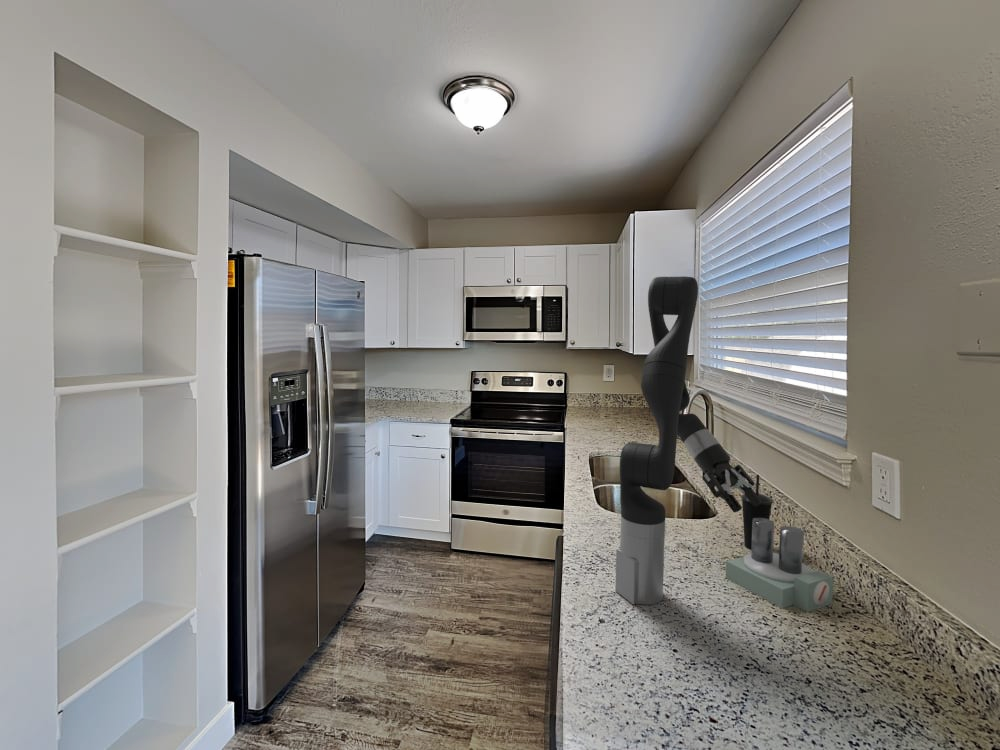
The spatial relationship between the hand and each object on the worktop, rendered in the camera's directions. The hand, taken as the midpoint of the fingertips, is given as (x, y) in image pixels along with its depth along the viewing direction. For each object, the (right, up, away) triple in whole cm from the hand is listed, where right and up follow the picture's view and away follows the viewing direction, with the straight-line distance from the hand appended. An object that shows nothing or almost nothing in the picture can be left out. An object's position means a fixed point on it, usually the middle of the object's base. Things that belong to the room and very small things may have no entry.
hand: (748, 507), depth 111 cm
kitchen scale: (+4, -17, -6) cm, 18 cm away
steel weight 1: (+2, -11, -2) cm, 12 cm away
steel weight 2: (+5, -12, -7) cm, 15 cm away
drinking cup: (+10, -15, +16) cm, 24 cm away
